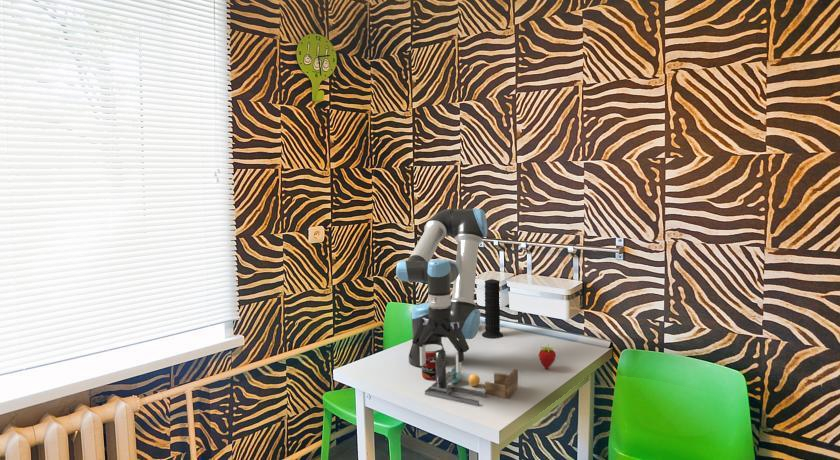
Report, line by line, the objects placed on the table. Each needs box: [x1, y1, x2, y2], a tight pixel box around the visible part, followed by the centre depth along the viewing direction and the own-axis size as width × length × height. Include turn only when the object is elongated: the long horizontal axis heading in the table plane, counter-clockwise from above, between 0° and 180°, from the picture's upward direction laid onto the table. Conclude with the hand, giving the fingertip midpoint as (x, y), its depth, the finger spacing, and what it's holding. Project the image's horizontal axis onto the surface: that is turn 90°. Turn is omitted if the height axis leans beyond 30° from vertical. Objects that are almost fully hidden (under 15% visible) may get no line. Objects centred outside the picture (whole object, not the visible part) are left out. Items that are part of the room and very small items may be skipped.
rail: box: [424, 385, 488, 407], centre depth 164 cm, size 19×8×1 cm, turn 61°
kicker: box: [431, 349, 462, 395], centre depth 170 cm, size 6×14×14 cm, turn 151°
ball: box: [468, 373, 481, 387], centre depth 171 cm, size 4×4×4 cm
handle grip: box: [481, 278, 504, 339], centre depth 226 cm, size 10×26×10 cm
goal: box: [484, 368, 519, 400], centre depth 166 cm, size 8×10×6 cm
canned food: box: [421, 344, 443, 381], centre depth 180 cm, size 8×8×11 cm
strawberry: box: [538, 343, 557, 370], centre depth 184 cm, size 6×8×10 cm
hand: (440, 367), depth 165 cm, fingers open, 13 cm apart
